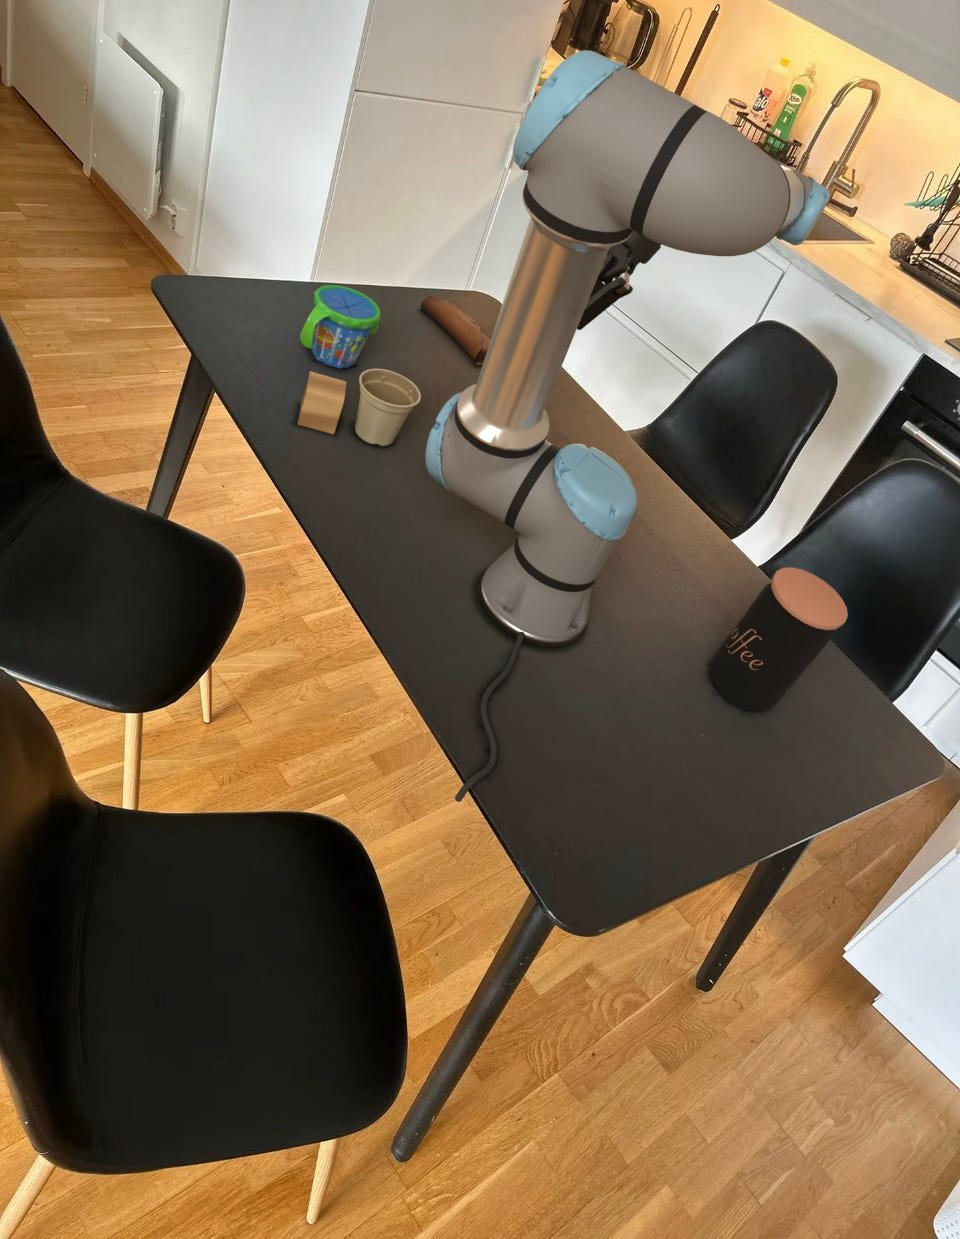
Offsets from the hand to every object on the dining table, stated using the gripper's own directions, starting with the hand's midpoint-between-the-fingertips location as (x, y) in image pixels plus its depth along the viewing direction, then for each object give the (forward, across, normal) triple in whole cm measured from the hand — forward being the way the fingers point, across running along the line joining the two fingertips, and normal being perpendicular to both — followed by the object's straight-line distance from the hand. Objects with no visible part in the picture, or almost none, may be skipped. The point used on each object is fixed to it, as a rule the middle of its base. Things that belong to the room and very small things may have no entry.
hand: (530, 352), depth 146 cm
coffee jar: (+11, -49, -28) cm, 58 cm away
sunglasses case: (+12, +36, -13) cm, 40 cm away
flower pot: (+25, +2, +10) cm, 27 cm away
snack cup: (+25, +23, +12) cm, 36 cm away
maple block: (+28, +5, +18) cm, 33 cm away
